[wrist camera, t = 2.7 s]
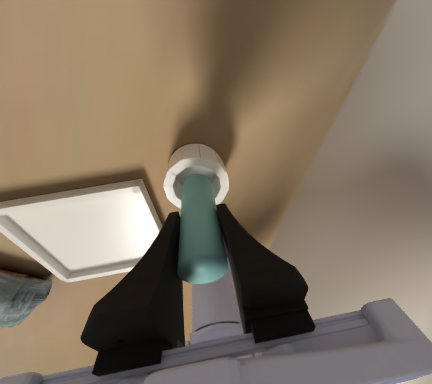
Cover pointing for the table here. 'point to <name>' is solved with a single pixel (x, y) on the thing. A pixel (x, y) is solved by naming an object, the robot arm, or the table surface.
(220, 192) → the bowl
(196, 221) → the dowel
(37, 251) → the tray
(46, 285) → the packaged food
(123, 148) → the table surface
